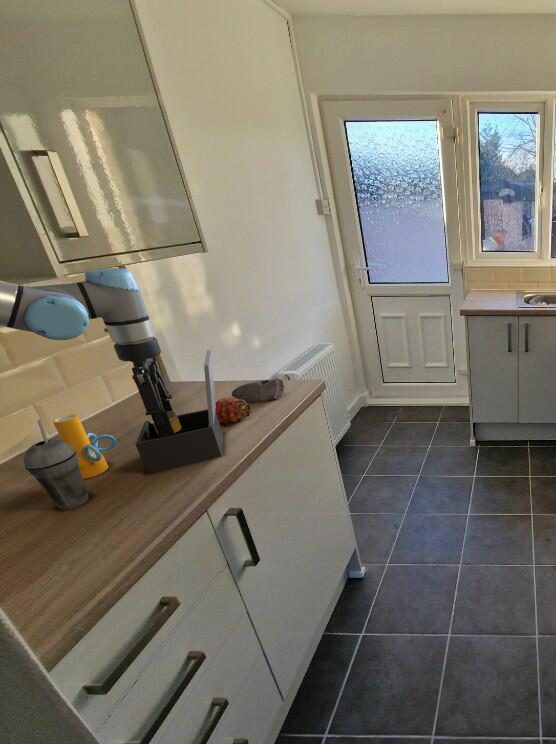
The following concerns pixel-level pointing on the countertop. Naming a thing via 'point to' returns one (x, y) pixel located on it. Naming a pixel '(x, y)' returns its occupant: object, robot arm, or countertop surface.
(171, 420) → the coffee pod
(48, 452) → the beverage cup
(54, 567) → the countertop surface
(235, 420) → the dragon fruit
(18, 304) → the robot arm
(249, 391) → the perforated stone tool
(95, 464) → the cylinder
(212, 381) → the pod lid
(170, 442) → the dark grey storage bin
